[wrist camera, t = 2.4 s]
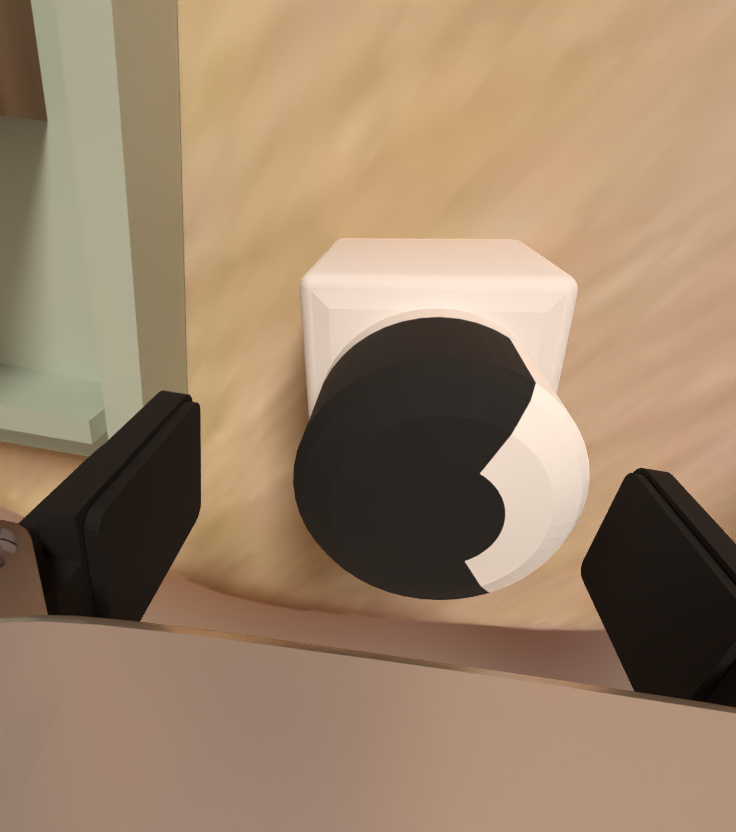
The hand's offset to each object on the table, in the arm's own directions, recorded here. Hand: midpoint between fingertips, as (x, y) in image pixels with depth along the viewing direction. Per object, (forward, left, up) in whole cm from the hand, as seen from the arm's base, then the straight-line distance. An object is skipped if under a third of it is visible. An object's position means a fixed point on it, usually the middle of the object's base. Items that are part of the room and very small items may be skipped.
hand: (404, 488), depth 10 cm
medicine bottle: (-1, 0, -11) cm, 11 cm away
